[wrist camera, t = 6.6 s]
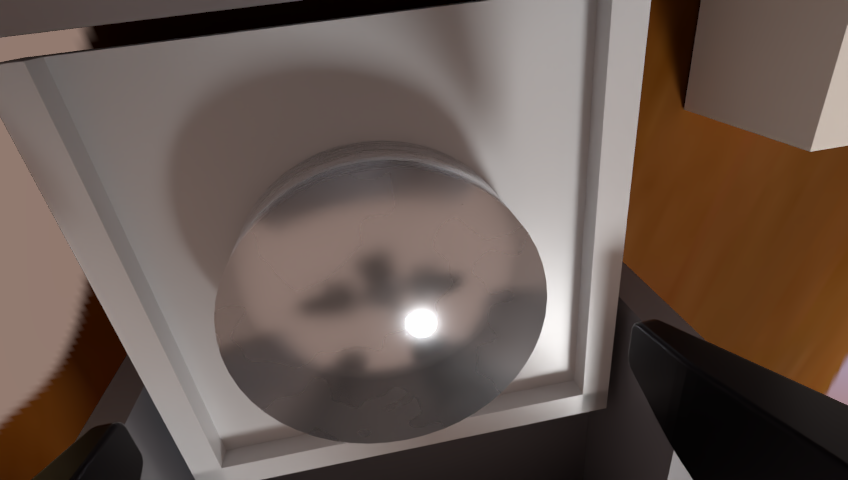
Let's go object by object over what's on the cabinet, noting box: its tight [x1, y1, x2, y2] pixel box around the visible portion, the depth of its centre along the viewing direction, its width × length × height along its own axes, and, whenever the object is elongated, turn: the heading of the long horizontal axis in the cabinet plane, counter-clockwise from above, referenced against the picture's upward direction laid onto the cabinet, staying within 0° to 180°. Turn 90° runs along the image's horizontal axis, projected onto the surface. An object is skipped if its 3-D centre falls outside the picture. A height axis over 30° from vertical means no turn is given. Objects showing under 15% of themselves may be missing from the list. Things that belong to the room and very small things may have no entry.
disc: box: [214, 140, 547, 444], centre depth 11 cm, size 7×7×2 cm
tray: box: [0, 0, 651, 480], centre depth 10 cm, size 14×15×6 cm
